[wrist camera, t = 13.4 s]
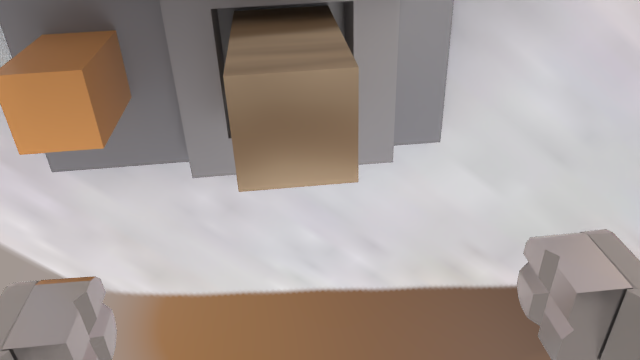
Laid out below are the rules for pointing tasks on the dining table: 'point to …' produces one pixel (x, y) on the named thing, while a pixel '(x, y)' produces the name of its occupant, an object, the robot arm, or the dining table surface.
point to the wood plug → (291, 99)
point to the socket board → (158, 84)
